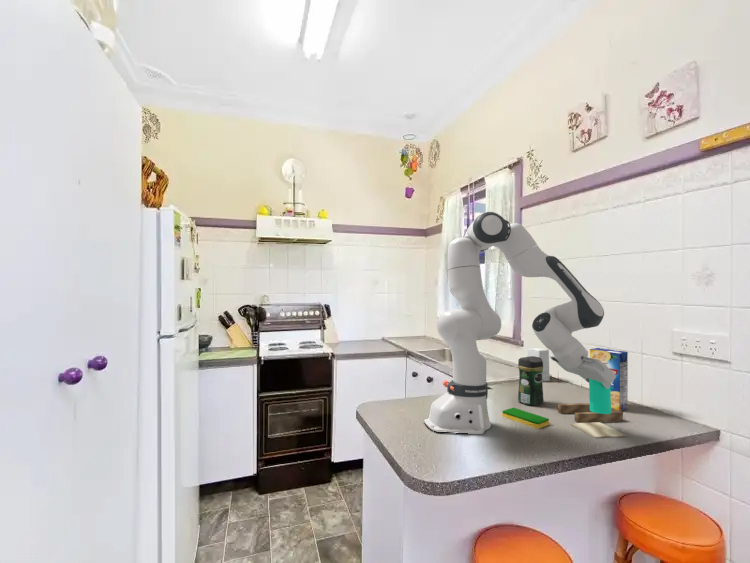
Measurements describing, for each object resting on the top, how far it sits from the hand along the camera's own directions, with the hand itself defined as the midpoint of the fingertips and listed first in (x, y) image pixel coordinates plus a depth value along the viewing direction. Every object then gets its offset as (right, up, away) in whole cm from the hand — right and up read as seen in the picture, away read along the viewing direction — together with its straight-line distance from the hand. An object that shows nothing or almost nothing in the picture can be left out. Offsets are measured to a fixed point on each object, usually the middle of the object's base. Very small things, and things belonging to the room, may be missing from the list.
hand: (599, 384), depth 119 cm
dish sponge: (-21, -16, +8) cm, 27 cm away
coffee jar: (-11, -15, +27) cm, 33 cm away
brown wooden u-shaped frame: (+3, -15, +12) cm, 20 cm away
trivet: (-1, -15, 0) cm, 15 cm away
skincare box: (+9, -16, +65) cm, 67 cm away
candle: (0, -9, -1) cm, 9 cm away
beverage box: (+19, -16, +25) cm, 35 cm away
